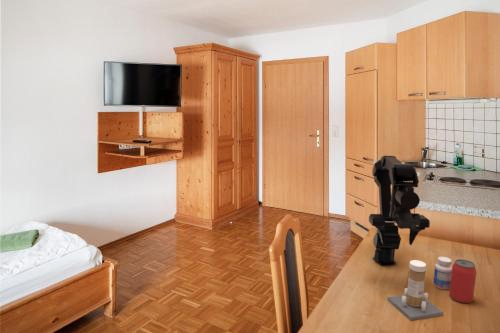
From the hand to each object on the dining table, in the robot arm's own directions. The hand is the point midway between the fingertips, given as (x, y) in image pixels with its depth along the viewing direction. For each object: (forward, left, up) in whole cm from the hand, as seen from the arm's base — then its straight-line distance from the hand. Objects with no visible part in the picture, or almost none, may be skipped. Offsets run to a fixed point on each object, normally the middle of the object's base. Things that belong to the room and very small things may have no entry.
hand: (396, 244), depth 124 cm
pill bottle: (-13, +8, -13) cm, 20 cm away
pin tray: (+5, +17, -13) cm, 22 cm away
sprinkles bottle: (+5, +17, -12) cm, 21 cm away
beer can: (-13, +16, -13) cm, 25 cm away
